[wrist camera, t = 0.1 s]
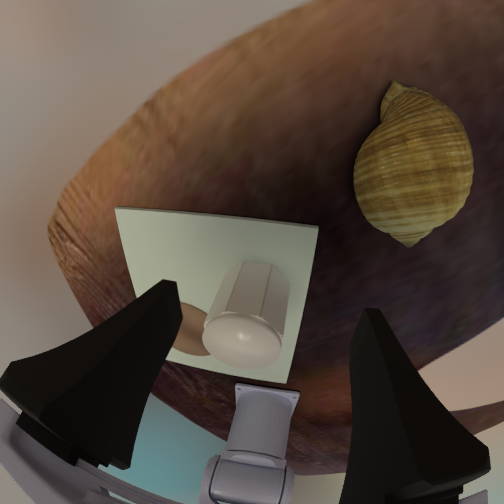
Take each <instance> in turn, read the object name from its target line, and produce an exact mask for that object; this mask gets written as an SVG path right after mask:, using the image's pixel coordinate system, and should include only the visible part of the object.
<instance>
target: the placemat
mask: <svg viewBox="0 0 504 504" xmlns="http://www.w3.org/2000/svg"><path fill="white" fill-rule="evenodd" d="M115 213H116V218H117V223H118V227H119V232H120V236H121V241H122V245H123V249H124V253H125V257H126V261H127V265H128V268H129V272H130V276H131V279H132V283H133V286H134V290H135V293H136V296H137V298H138V297H139V296H141V295H142V294H143V293H145V292H146V291H147V290H149V289H150V288H151V287H152V286H154V285H155V284H156V283H158V282H159V281H161V280H162V279H166V280H171V281H177V287H178V293H179V298H180V302H183V303H187V304H190V305H193V306H195V307H197V308H199V309H201V310H202V311H204V312H206V313H207V314H208V312H209V310H210V308H211V305H212V303H213V301H214V298H215V296H216V294H217V292H218V289H219V287H220V285H221V282H222V280H223V278H224V275H225V273H227V272H228V271H230V270H231V269H233V268H234V267H235V266H237V265H238V264H240V263H241V262H243V261H244V262H245V261H251V262H258V263H266V264H271V266H272V265H273V266H274V267H275V268H276V269H277V270H278V271H279V272H280V273H281V274H282V275H283V276H284V277H285V278H286V279H287V280H288V281H289V282H290V291H289V299H288V306H287V314H286V321H285V328H284V335H283V341H282V347H281V353H280V357H279V358H278V360H277V361H276V362H275V363H274V364H272V365H270V366H268V367H265V368H261V369H241V368H236V367H233V366H230V365H227V364H225V363H223V362H221V361H219V360H218V359H216V358H215V357H213V356H212V355H208V356H194V355H190V354H186V353H183V352H181V351H178V350H176V349H174V348H173V347H172V348H171V350H170V352H169V354H168V356H167V358H166V360H169V361H173V362H177V363H181V364H185V365H189V366H193V367H197V368H202V369H206V370H211V371H215V372H220V373H225V374H230V375H235V376H241V377H246V378H252V379H258V380H265V381H271V382H278V383H286V382H287V378H288V374H289V370H290V366H291V362H292V358H293V354H294V350H295V345H296V341H297V337H298V332H299V328H300V323H301V319H302V314H303V309H304V305H305V300H306V295H307V290H308V285H309V280H310V275H311V269H312V264H313V258H314V253H315V247H316V241H317V235H318V229H319V228H318V226H314V225H306V224H298V223H290V222H282V221H273V220H264V219H255V218H246V217H237V216H227V215H217V214H206V213H195V212H184V211H172V210H160V209H146V208H132V207H116V208H115Z"/></svg>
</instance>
